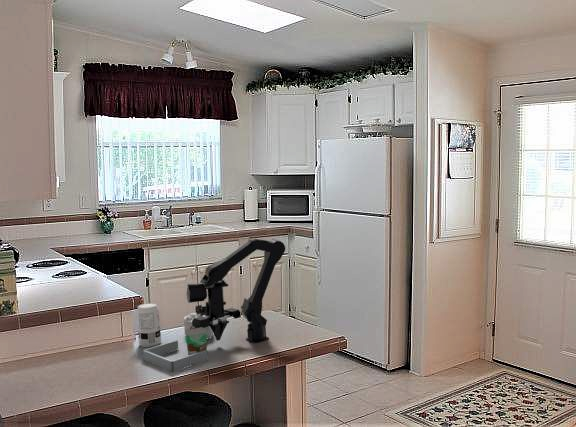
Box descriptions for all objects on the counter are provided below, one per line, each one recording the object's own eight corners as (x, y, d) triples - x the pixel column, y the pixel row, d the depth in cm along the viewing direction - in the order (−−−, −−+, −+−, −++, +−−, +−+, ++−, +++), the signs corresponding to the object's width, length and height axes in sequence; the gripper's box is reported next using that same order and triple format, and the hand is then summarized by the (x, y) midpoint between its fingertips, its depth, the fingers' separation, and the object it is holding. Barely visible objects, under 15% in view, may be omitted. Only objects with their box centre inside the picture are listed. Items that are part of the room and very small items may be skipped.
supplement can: (134, 345, 227) (132, 306, 226) (153, 339, 233) (150, 301, 232) (147, 349, 222) (144, 309, 220) (165, 343, 228) (162, 304, 226)
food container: (203, 357, 209) (201, 330, 208) (186, 357, 211) (184, 329, 210) (214, 346, 221) (212, 320, 220) (198, 345, 223) (197, 319, 222)
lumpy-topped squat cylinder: (207, 329, 243) (206, 308, 242) (217, 338, 231) (216, 316, 230) (182, 333, 239) (181, 312, 238) (191, 342, 227) (189, 320, 226)
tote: (177, 349, 220) (176, 340, 219) (207, 360, 206) (206, 350, 206) (142, 359, 210) (142, 350, 210) (172, 372, 197) (171, 361, 196)
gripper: (222, 291, 232) (224, 330, 234) (182, 301, 219) (184, 342, 221) (240, 295, 224) (242, 335, 226) (200, 305, 211) (202, 348, 213)
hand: (218, 340), depth 221 cm, fingers closed
